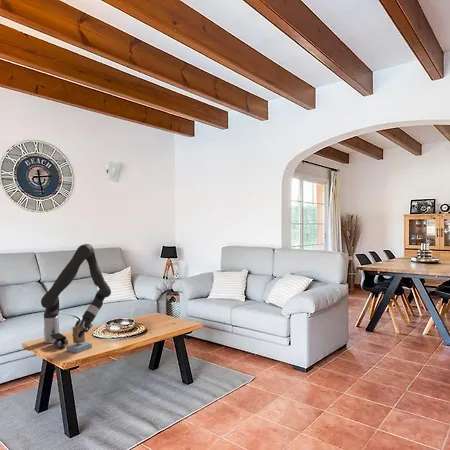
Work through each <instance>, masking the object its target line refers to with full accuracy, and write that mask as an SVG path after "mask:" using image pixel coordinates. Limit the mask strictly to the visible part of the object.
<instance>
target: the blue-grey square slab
mask: <svg viewBox="0 0 450 450" xmlns="http://www.w3.org/2000/svg"><path fill="white" fill-rule="evenodd" d="M65 348H66V349H65V350H66V351H68V352H72V353H75V354H79V353H82V352H84V351H87V350H90V349H92V348H93V344H92V342H88V341H85V342H82V343H79V344H77V343H73V342H72V343H70V344H67V345H65Z"/></svg>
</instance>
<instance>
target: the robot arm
mask: <svg viewBox="0 0 450 450" xmlns="http://www.w3.org/2000/svg"><path fill="white" fill-rule="evenodd" d="M85 260H86V262H87V264H88V268H89V273H90V277H91V279H92V281H93V284H94V285H95V286H96V287H98V290H97V291H96V293H95V296H94V299H93V300H92V302H91V303H90V305H89V306H88V307H87V308H86V310H85V311H84V313H83V315H82V316H81V320H77V321H76V323H75V325H74V327H75V326H80V325H81V326H83V328H82V330H81V332H80V333H79V335H78V337H79V338H81V337H82V335H83V333H84V334H85V333H88V331H89V330H90V329H91V328H92V327H93V324H92V323H93V322H94V321H95V318H96V317H97V315H98V313H99V312H100V310H101V308H102V306H103V305H104V300H105V299H106V298H108V297H110V296H111V294H112V290H111V287H110V286H109V285H108V283H107V282H106V280H105V278H104V276H103V274H102V272H101V271H102V270H101V269H100V267H99V264H98V261H97V260H98V259H97V258H96V254H95V250H94V248H93V246H92V245H91V244H89V243H84V244H81V245H79V246H78V247H77V249H76V251H75V253H74V254H73V256H72V257H71V259H70V260H69V262H68V263H67V264H66V265H65V267H64V268H63V270H62V271H61V272H60V273H59V275H58V276H57V278H56V279H55V281H54V283H53V284H52V286H51V287H50V288H49V289H48V290H47V292H45V294H44V295H43V296H42V297H41V300H40V304H41V307H42V308H45V310H44V313H43V326H44V327H43V338H44V343H46V344H52V340H53V337H52V336H50V335H51V334H56V333H60V320H59V317H60V316H59V313H60V294H61V293H62V292H63V291H64V290H65V289H66V288H67V287H68V286H69V285H70V284H71V283H72V282H73V281H74V279H75V277H76V276H77V274H78V272H79V269H80V267H81V265H83V263H84V261H85ZM71 335H72V336H73V333H72V334H71Z"/></svg>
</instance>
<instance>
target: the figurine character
mask: <svg viewBox="0 0 450 450" xmlns="http://www.w3.org/2000/svg"><path fill="white" fill-rule="evenodd" d="M50 336H52V337H53V340H52V343H51V344H52V345H53V346H55V347H57V348H58V349H59V350H61V349H62V347H63V348H66V346H67V345H69V339H67V336H66V335H63V334H62V333H60V332H59V333H56V334H51V335H50Z"/></svg>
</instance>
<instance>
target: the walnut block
mask: <svg viewBox="0 0 450 450" xmlns="http://www.w3.org/2000/svg"><path fill="white" fill-rule="evenodd" d="M71 328H72V334H73V335H72V341H73V342H72V344H73V343H77V344H79V343H82V342H86V338H85V333H83V335H82V337H81V338H79V337H78V335H79V333H80V332H81V330H82V328H83V326H81V325H80V326H75V325H74V326H72V327H71Z"/></svg>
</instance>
